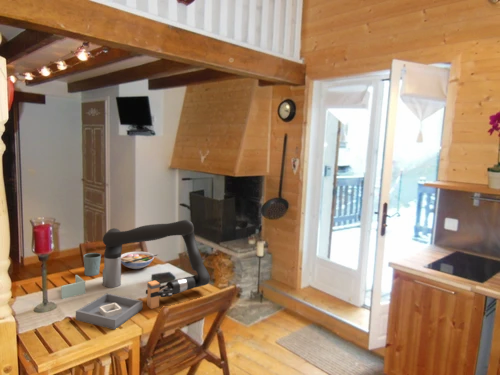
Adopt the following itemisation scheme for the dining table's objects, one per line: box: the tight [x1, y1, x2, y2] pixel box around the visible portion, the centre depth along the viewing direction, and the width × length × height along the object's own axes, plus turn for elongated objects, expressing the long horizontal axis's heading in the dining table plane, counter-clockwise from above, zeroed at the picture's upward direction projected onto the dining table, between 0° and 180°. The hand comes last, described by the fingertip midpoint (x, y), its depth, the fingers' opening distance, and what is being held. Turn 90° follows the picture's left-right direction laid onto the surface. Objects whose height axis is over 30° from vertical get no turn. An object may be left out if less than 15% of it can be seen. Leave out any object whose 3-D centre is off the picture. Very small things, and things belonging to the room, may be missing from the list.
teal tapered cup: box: [83, 252, 102, 277], centre depth 230 cm, size 10×10×12 cm
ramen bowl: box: [121, 251, 158, 270], centre depth 245 cm, size 25×23×8 cm
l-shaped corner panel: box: [60, 274, 86, 300], centre depth 202 cm, size 12×12×8 cm
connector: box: [146, 279, 161, 310], centre depth 192 cm, size 5×5×13 cm
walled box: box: [75, 292, 144, 330], centre depth 181 cm, size 22×22×4 cm
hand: (148, 293), depth 190 cm, fingers closed on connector, 4 cm apart
